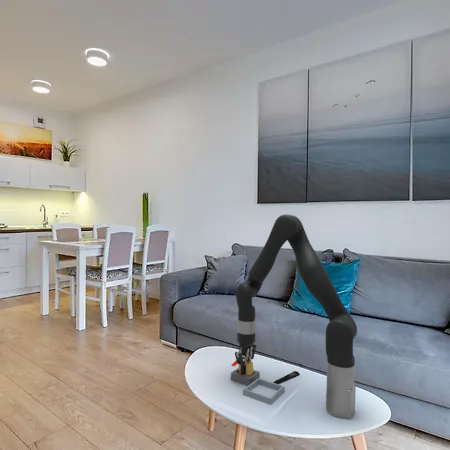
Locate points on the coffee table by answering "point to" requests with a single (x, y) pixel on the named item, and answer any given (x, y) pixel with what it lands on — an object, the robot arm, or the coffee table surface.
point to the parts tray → (263, 398)
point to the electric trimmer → (287, 377)
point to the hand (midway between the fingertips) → (245, 372)
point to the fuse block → (244, 377)
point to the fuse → (247, 368)
